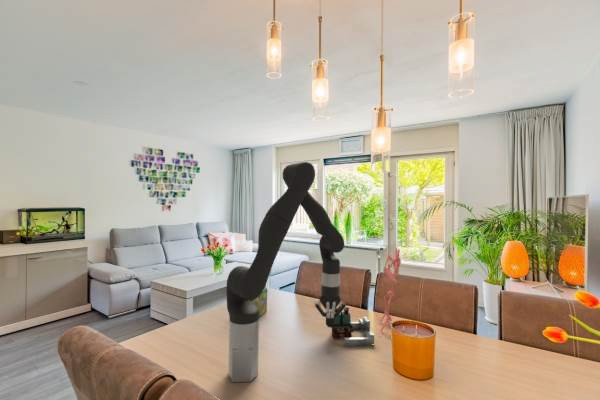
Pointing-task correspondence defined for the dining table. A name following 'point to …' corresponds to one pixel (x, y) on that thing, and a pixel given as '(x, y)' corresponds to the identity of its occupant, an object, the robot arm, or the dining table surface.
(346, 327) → the binoculars
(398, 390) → the dining table surface
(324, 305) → the robot arm
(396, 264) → the figurine
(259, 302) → the chalk box
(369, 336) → the bracket
